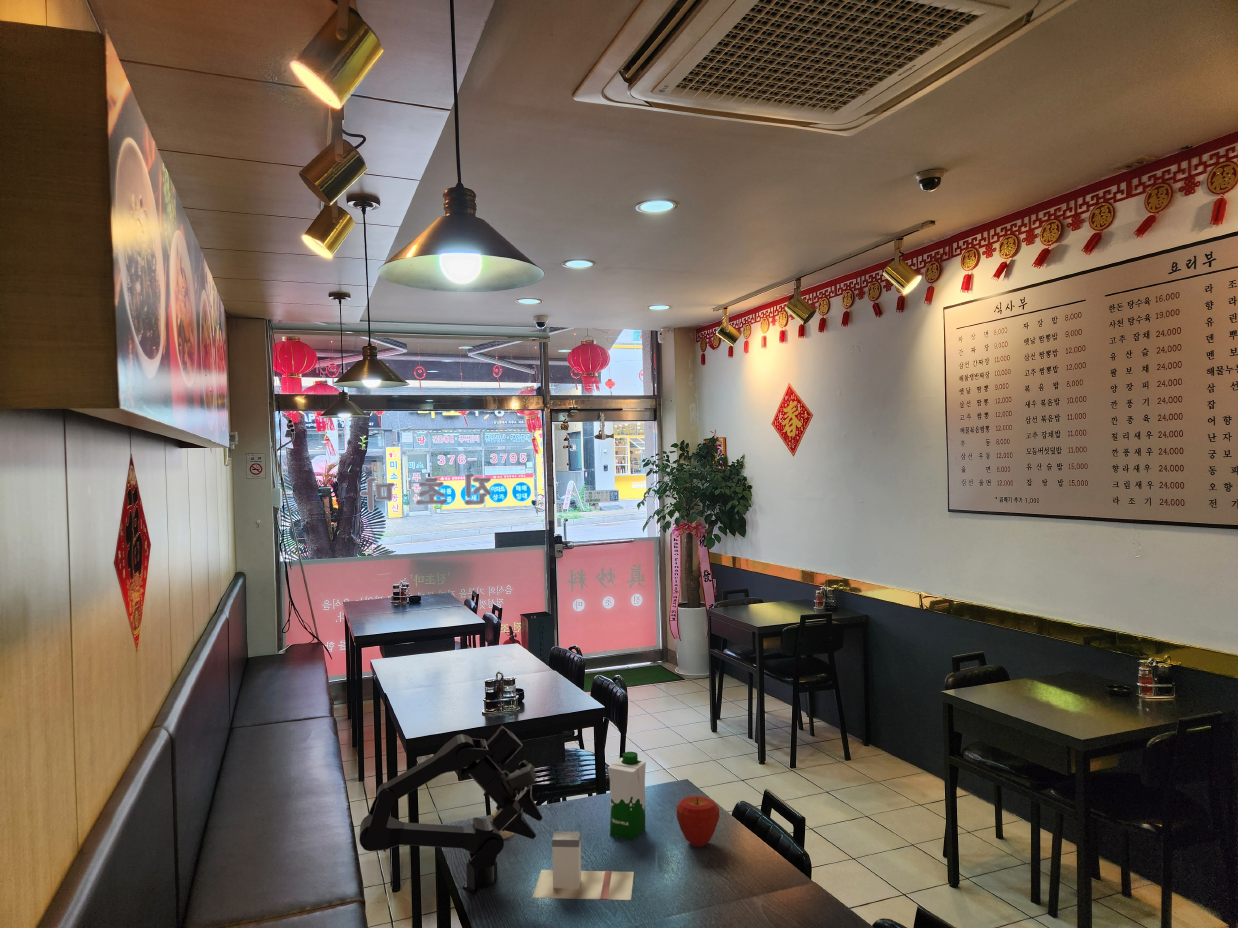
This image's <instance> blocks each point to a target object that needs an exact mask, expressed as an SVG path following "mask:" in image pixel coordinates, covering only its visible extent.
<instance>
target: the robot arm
mask: <svg viewBox="0 0 1238 928" xmlns="http://www.w3.org/2000/svg"><path fill="white" fill-rule="evenodd" d="M523 745H524V744H522V741H520V739H519V738H518V737H517V736H516V735H515V734H514V733H513V732H512V731H510V730H509V729H507V728H505V726H504V725H501V726H500V727H499V728H498V729H497V730H496V732H495V733H494V734H493V735H492V736H491V737H490V738H489V739H488V740H486V739H485V738H472V737H470V736H469V735H467V734H464V733H460V734H456V735H454V737H452V738H451V739H450V740H449V741H447V742H446V743H445V744H444V745H442V747H441V748H440V749H439V750H438V751H437V752H436V753H434V755H432V756H430V757H429V758H427V759H425V760H423V761H422V762H420V763H418V764H416V765H415V766H413V767H412V768H409V769H408V770H406V771H404V772H402V773H401V774H399V775H397V776H395V777H393V778H392V779H390V780H388V781H385V782H382V783H381V784H380V785H379V786H378V788H377V790H376V792H377V793H376V795H375V797H374V800H373V801H372V803H371V806H370V809H369V811H368V814H367V815H366V816H365V817H364V818H363V819H362V821H361V822H360V824H359V839H358V841H359V844H360V846H361V847H362V848H363V850H365V851H367V852H379V851H386V850H389V849H392V848H395V847H397V846H413V847H414V846H417V847H429V848H430V847H432V848H445V849H446V848H448V849H449V848H451V849H462V850H465V851H467V853H468V856H469V859H468V860H467V861H466V862H465V863H466V868H465V869H466V872H465V873H466V882H463V883H462V888H464V889H466V890H467V891H469V892H471V893H473V894H475V895H476V894H477V893H478V890H479V889H480V890H482V889H486V888H489V887H490V886H493V884H494V882H495V881H496V880H497V879H498V877H499V876H498V861H497V857H498V855H499V854H500V853H501V852H502V851H503V848H504V846H505V845H504V844H505V841H504V840H505V839H503V837H502V834H501V831H500V830H501V829H502V831H504V830H505V831H509V832H512V833H515V835H519V836H522V837H525V838H528V839H530V840H531V839H532V840H534V839H536V837H537V834H536V833H535V830H534V829H533V828H532V827H531V825H530V824H529V823H528V821H527V820H526V818H525V817H524V814H525V815H527V816H529V817H531V818H532V819H535V820H536V821H538V822H541V821H542V820H543V818H544V817H543V815H542V813H541V812H540V810H539V808H538V806H537V804H536V802H535V800H534V798H533V796H532V792H533V790H532V789H533V784H534V783H536V779H537V778H538V777H537V774H536V772H535V766H534V765H533V764H532V763H530V762H528V761H527V760H526V759H524V760H522V761H520V762H519V764H518V769H515V771H513V772H511V773H510V772H509V771H508V770H506V769H504V770H501V769H500V767H498V765H500V764H501V765H504V764H507V763H508V762H509V761H510V760H511V759H512V758H513V757H514V756H515V755H516V754H517V752H518V751H519V750H520V749H521V748H523ZM489 756H490V757H489ZM492 759H493V760H492ZM496 763H497V764H498V765H497V764H496ZM458 770H459V771H460V778H459V779H460V781H464V780H465V779H466V778H467V777H468V776H470V777H471V779H472V780H474V782H475V783H476V784H477V785H478V786H479V787H480V788H481V790H483V791H484V793H483V796H484V798H486V799H487V798H488V797H489V798H491V800H492V801H493V802H494V803H495V804H496V806H495V810H496V809H497V810H498V812H497V813H496V814H495V816H494V818H493V821H491V817H488V818H487V817H486V818H479V817H474V816H473V818H472V823H469V824H468V825H463V826H462V825H448V824H432V823H431V824H430V823H418V822H404V821H400V820H399V819H397V818H394V817H392V816H391V812H392V807H393V805H394V803H395V801H398V800H399V799H402V797H404V796H406V795H408V794H410V793H411V792H413V791H415V790H417V789H418V788H420V787H421V786H423V785H425V784H427V783H428V782H431V781H432V780H434V779H436V778H437V777H439V776H441V775H443V774H447V773H453V772H456V771H458Z"/></svg>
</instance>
